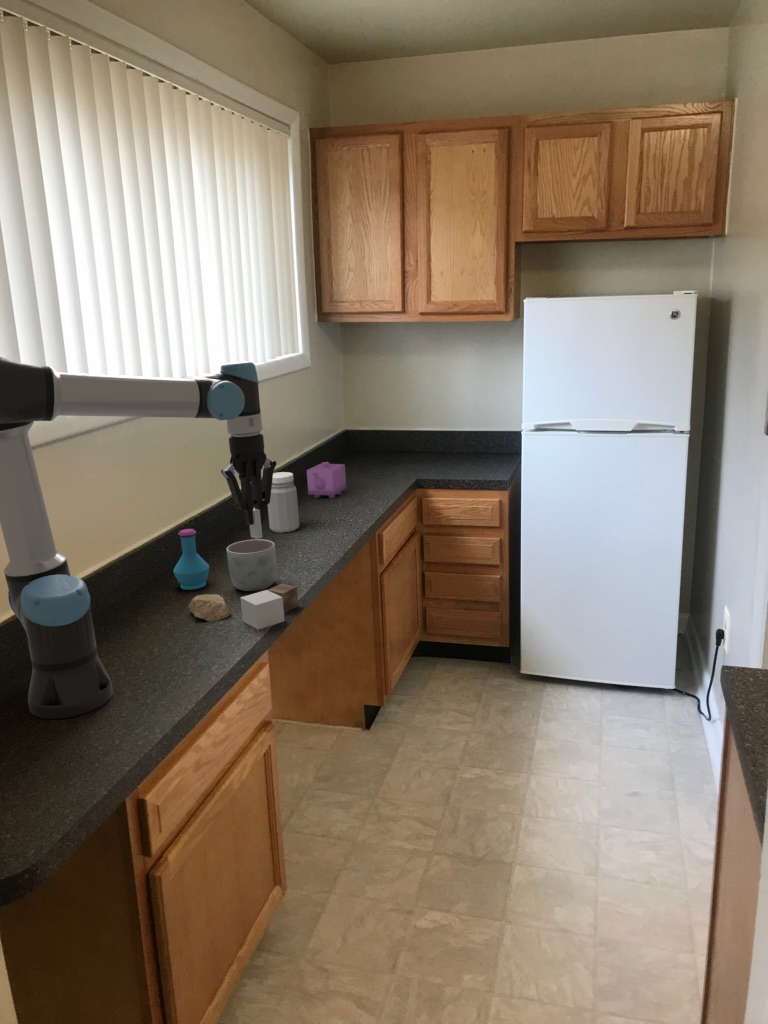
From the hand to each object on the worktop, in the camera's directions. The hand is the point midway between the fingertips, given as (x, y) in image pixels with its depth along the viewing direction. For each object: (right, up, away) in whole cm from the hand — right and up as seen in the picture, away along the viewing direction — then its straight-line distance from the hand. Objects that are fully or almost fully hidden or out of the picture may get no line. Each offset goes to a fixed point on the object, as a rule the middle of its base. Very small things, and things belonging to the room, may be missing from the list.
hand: (256, 537), depth 189 cm
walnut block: (+5, -17, +13) cm, 22 cm away
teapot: (+7, +11, +123) cm, 123 cm away
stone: (-13, -19, +11) cm, 26 cm away
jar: (-3, 0, +81) cm, 81 cm away
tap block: (+1, -20, +5) cm, 20 cm away
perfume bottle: (-22, -14, +32) cm, 41 cm away
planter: (-5, -14, +29) cm, 33 cm away
